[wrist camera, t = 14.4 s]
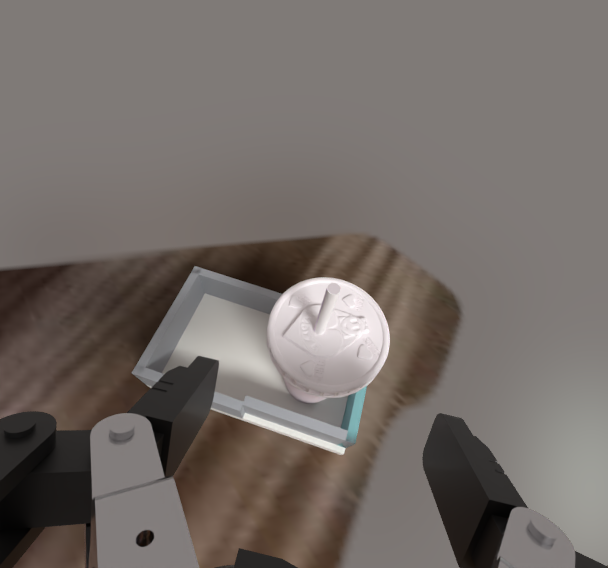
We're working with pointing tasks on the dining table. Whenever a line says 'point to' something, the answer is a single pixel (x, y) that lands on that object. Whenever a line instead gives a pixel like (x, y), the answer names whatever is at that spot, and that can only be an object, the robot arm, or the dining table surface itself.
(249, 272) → the dining table surface
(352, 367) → the smoothie
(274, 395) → the grey tray
